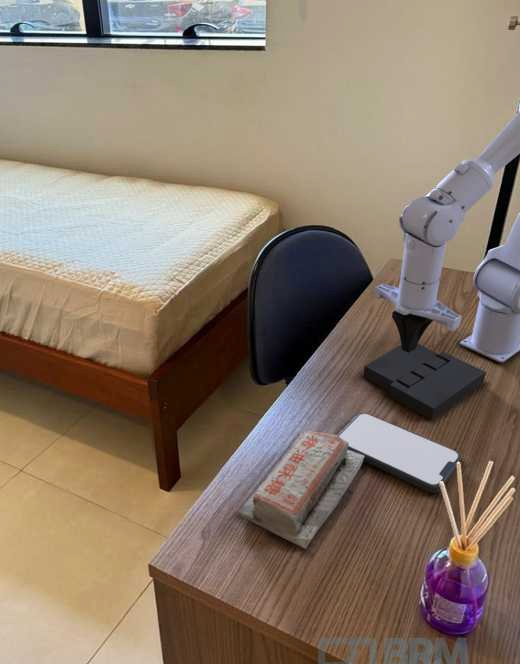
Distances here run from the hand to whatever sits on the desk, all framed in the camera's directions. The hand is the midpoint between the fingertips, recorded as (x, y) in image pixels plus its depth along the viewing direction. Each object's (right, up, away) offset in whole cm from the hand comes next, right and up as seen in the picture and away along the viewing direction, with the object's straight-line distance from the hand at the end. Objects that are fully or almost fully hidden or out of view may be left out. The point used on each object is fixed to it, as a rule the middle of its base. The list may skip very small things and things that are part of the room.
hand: (408, 349), depth 101 cm
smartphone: (-7, -15, -13) cm, 21 cm away
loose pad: (0, -4, +3) cm, 5 cm away
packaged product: (-21, -19, -17) cm, 33 cm away
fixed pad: (+4, -7, -1) cm, 8 cm away
